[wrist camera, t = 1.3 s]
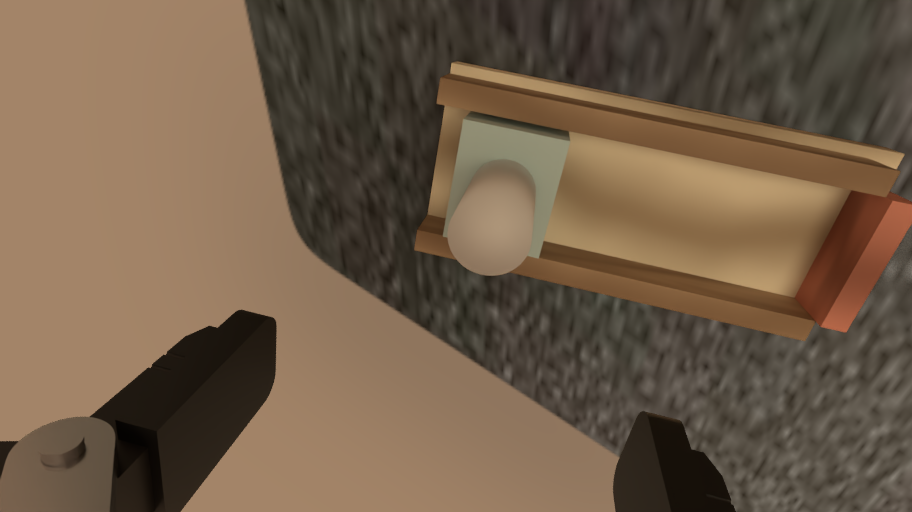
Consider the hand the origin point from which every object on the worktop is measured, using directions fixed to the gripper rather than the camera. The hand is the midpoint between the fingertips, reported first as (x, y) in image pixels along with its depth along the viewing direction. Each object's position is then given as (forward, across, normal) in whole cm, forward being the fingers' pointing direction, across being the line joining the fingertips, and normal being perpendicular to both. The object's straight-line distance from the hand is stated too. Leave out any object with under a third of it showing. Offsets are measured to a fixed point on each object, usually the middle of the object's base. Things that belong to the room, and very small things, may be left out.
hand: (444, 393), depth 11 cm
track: (+20, -7, 0) cm, 21 cm away
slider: (+18, 0, 0) cm, 18 cm away
